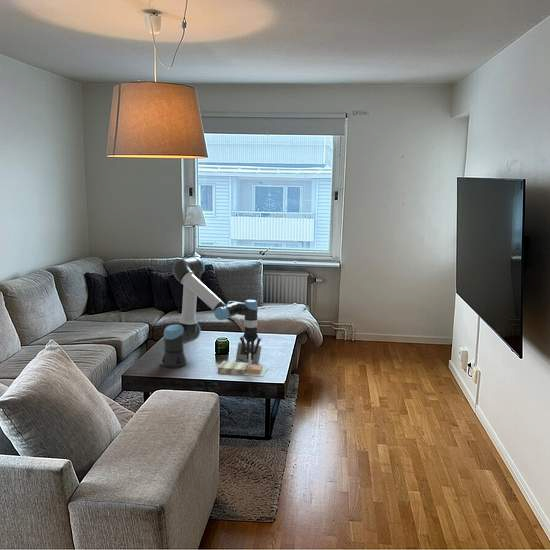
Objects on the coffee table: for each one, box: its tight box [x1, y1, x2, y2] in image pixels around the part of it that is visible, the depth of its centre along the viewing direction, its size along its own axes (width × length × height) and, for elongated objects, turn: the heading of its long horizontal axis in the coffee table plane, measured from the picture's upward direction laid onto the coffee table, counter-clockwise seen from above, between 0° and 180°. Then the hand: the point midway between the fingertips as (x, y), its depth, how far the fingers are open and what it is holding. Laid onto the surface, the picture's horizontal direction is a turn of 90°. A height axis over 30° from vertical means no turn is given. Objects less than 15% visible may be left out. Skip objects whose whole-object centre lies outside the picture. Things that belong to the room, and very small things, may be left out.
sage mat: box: [244, 367, 269, 378], centre depth 323 cm, size 11×14×1 cm
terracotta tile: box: [246, 364, 263, 374], centre depth 323 cm, size 8×7×2 cm
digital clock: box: [235, 341, 262, 364], centre depth 342 cm, size 16×9×11 cm, turn 55°
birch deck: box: [217, 360, 249, 376], centre depth 325 cm, size 16×12×3 cm
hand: (250, 364), depth 323 cm, fingers closed
